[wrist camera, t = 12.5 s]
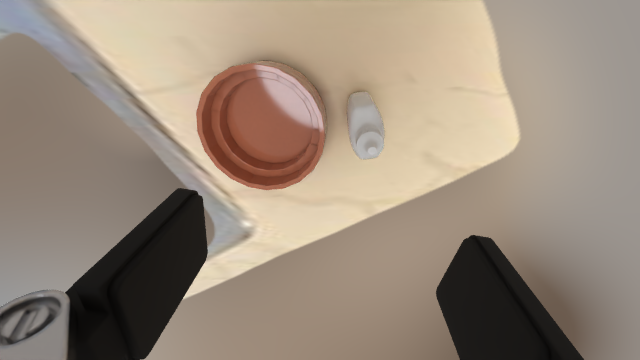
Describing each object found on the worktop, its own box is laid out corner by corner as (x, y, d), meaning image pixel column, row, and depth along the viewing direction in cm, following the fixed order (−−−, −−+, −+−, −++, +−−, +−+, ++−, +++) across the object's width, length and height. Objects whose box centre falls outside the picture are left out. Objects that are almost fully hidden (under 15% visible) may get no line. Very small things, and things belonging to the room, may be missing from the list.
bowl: (214, 50, 29) (192, 51, 25) (336, 73, 30) (336, 78, 25) (217, 161, 36) (200, 178, 32) (316, 179, 36) (313, 198, 32)
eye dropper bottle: (387, 98, 31) (413, 128, 20) (368, 141, 33) (381, 187, 23) (353, 86, 30) (360, 109, 20) (336, 129, 33) (335, 171, 22)
